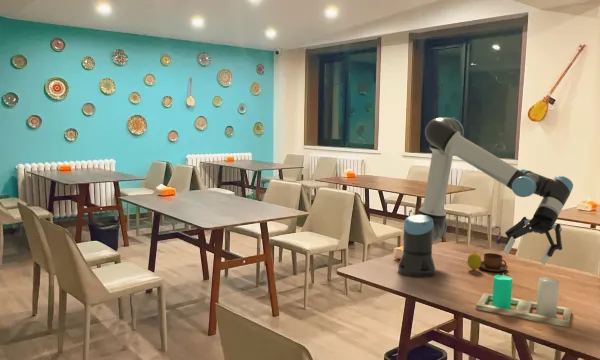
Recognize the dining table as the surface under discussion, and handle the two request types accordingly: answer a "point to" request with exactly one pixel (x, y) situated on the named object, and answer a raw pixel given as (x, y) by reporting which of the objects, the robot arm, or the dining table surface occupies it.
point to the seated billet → (547, 297)
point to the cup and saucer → (493, 263)
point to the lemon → (474, 261)
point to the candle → (502, 291)
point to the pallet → (524, 310)
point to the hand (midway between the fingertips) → (523, 257)
